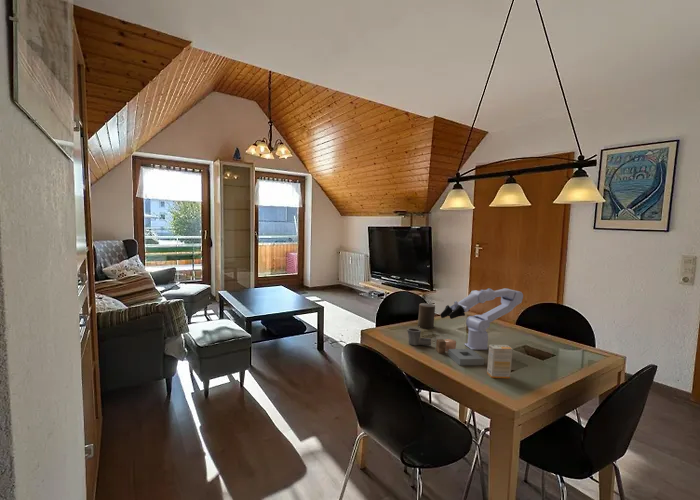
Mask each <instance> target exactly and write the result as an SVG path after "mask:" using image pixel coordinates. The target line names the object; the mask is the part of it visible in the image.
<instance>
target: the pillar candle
mask: <svg viewBox="0 0 700 500" xmlns="http://www.w3.org/2000/svg"><path fill="white" fill-rule="evenodd" d="M435 310H436V305H434V304H432V303H426V302H422V303H419V305H418V316H417V317H418V318H417V326H418V327H419V326H420V327H419V328H421V327H422V328H421V329H426V328H427V330H430V329H431V330H432V329H433V328H434V324H435V314H436V313H435V312H436V311H435Z"/></svg>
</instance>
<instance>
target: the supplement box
mask: <svg viewBox="0 0 700 500" xmlns="http://www.w3.org/2000/svg"><path fill="white" fill-rule="evenodd" d="M513 350H514V349H513V348H512V347H511V346H509V345H508V344H488V354H487V355H488V358H487V369H486V374H487V375H488V376H489V377H490V379H511V371H512V360H513Z"/></svg>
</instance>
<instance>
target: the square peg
mask: <svg viewBox="0 0 700 500" xmlns="http://www.w3.org/2000/svg"><path fill="white" fill-rule="evenodd" d="M435 345H436V346H435V352H436V353H438V354H446V351H445V349H446V341H445V339H443V338H439V339H438V338H436V344H435Z"/></svg>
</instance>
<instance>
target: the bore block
mask: <svg viewBox="0 0 700 500" xmlns="http://www.w3.org/2000/svg"><path fill="white" fill-rule="evenodd" d="M447 356H448V357H449V358H450V359H451V360H453V361H454V362H455V363H456V364H458V366H462V367H463V366H484V365H485V358H484V357H482V356H481V354H479V353H477V352H476V351H475V350H472V349H470V348H456V349H448V352H447Z"/></svg>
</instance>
